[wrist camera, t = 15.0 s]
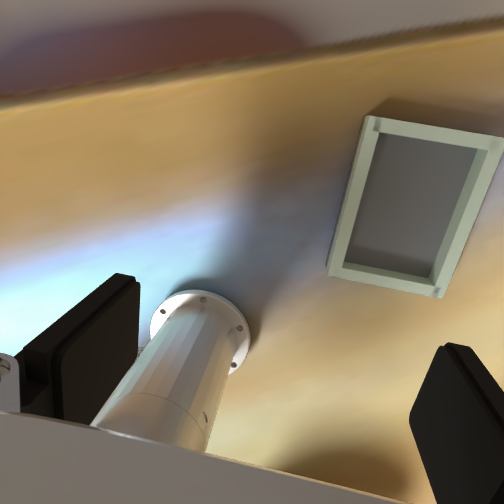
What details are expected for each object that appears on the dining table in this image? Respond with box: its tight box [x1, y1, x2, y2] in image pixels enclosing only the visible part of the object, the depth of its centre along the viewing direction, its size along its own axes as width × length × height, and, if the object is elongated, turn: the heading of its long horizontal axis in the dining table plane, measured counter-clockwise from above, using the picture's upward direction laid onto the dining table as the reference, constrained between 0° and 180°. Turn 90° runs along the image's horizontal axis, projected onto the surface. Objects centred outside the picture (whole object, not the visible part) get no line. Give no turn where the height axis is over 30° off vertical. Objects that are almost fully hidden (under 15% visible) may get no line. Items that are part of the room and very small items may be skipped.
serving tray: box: [326, 116, 504, 299], centre depth 35 cm, size 16×12×3 cm
